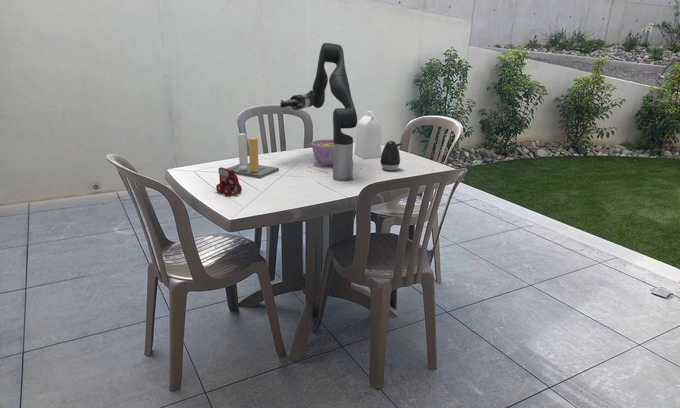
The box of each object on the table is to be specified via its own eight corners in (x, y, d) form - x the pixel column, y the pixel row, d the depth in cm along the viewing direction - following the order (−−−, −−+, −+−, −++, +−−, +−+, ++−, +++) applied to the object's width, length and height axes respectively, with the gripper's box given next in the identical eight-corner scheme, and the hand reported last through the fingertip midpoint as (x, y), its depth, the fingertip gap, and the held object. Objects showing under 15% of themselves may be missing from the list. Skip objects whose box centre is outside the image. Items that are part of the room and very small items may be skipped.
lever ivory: (248, 164, 224) (246, 133, 219) (244, 166, 222) (242, 134, 216) (243, 164, 225) (241, 133, 220) (239, 165, 223) (237, 134, 217)
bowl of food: (349, 160, 244) (350, 140, 240) (346, 169, 225) (347, 147, 221) (314, 159, 246) (314, 138, 242) (308, 168, 227) (308, 146, 223)
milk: (354, 154, 258) (355, 110, 249) (371, 153, 262) (373, 109, 254) (363, 159, 247) (365, 113, 239) (381, 157, 252) (383, 112, 243)
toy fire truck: (231, 198, 180) (230, 173, 177) (214, 191, 188) (212, 168, 184) (245, 194, 185) (243, 170, 182) (227, 188, 193) (225, 165, 189)
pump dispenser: (397, 173, 221) (399, 143, 216) (377, 170, 224) (379, 141, 219) (401, 168, 230) (403, 139, 225) (382, 166, 233) (384, 138, 228)
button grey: (249, 170, 215) (249, 166, 215) (244, 172, 212) (243, 168, 211) (242, 169, 217) (242, 165, 216) (237, 171, 213) (237, 167, 213)
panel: (278, 170, 221) (278, 167, 220) (259, 178, 207) (259, 175, 207) (243, 165, 230) (243, 162, 229) (223, 172, 216) (223, 169, 216)
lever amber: (258, 170, 213) (257, 138, 208) (255, 172, 211) (253, 139, 205) (253, 170, 214) (252, 137, 209) (250, 171, 212) (248, 138, 207)
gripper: (289, 93, 232) (270, 96, 217) (310, 95, 227) (292, 98, 212) (289, 108, 235) (270, 111, 220) (310, 110, 229) (293, 113, 214)
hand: (281, 105), depth 216 cm, fingers closed
